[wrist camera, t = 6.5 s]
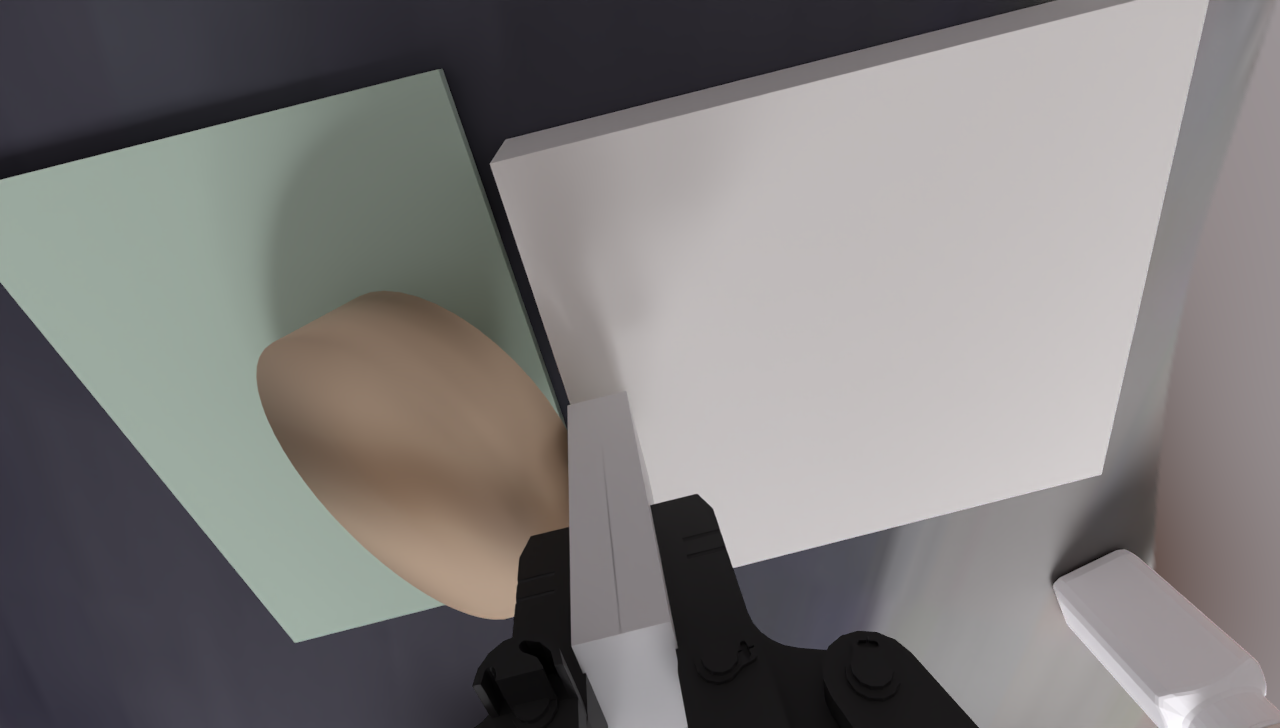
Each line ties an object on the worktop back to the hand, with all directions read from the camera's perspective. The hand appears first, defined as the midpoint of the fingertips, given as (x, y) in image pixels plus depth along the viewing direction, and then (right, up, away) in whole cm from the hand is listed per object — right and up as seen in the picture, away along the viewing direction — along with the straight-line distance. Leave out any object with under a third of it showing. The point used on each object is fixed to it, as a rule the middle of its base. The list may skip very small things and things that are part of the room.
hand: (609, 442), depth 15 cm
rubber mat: (-9, 0, +5) cm, 10 cm away
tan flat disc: (-4, 0, +2) cm, 5 cm away
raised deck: (+6, +4, +5) cm, 9 cm away
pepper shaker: (+23, -9, +14) cm, 28 cm away
